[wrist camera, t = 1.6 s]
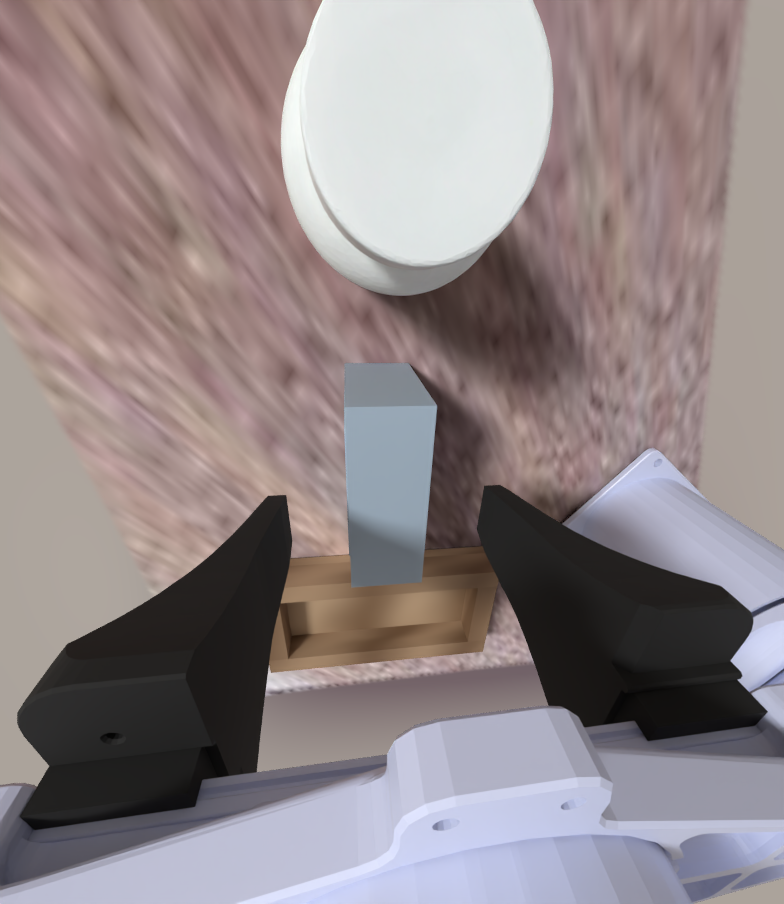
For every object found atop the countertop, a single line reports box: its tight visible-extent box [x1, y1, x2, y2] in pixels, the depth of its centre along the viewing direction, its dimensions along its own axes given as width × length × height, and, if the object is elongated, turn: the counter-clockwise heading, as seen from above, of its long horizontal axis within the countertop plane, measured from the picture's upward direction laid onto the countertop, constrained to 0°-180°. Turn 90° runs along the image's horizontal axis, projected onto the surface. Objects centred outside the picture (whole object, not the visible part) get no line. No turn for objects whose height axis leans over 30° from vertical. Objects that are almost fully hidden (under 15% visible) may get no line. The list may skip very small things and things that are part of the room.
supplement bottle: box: [281, 0, 553, 296], centre depth 10 cm, size 5×5×10 cm
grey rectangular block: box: [344, 363, 437, 588], centre depth 16 cm, size 8×3×6 cm, turn 179°
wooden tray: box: [269, 546, 499, 673], centre depth 23 cm, size 14×7×2 cm, turn 89°
